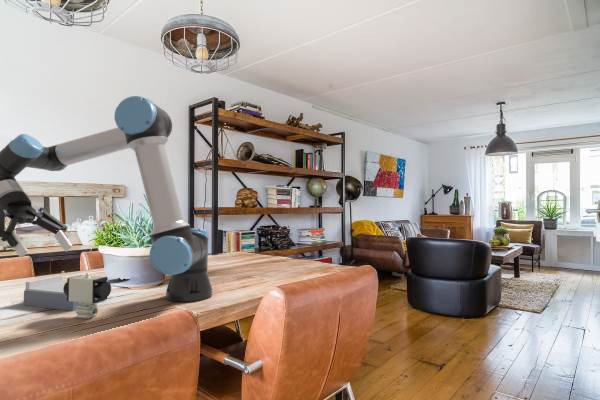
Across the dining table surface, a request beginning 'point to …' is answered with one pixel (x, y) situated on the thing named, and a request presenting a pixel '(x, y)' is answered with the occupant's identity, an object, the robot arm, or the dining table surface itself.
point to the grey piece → (48, 294)
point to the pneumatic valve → (87, 293)
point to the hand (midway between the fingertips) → (48, 251)
